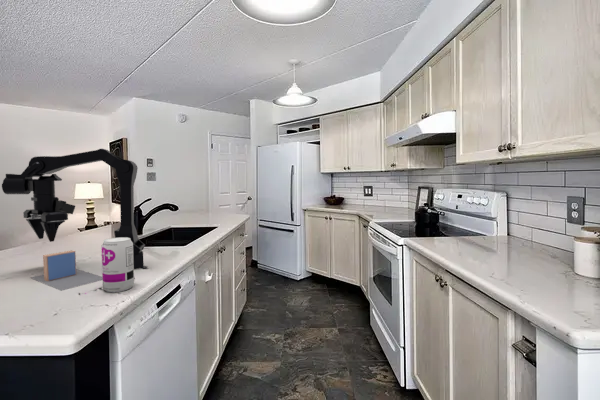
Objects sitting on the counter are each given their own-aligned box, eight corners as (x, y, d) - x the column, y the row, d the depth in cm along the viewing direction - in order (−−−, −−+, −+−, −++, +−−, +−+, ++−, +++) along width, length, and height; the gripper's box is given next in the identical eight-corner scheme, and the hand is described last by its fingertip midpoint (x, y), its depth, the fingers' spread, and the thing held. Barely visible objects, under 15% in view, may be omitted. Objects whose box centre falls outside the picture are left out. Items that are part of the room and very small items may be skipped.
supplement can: (112, 295, 90) (110, 243, 89) (97, 289, 95) (95, 240, 94) (139, 286, 97) (138, 238, 96) (124, 282, 102) (123, 236, 101)
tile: (76, 274, 105) (75, 251, 105) (48, 281, 98) (46, 256, 98) (72, 273, 107) (71, 250, 106) (44, 279, 100) (43, 255, 99)
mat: (108, 281, 102) (107, 278, 102) (61, 293, 91) (61, 290, 91) (74, 270, 113) (74, 268, 113) (29, 280, 102) (29, 277, 102)
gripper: (84, 194, 108) (86, 239, 109) (59, 192, 118) (61, 233, 119) (45, 195, 99) (47, 244, 100) (21, 193, 109) (24, 238, 110)
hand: (46, 240), depth 107 cm, fingers open, 8 cm apart
